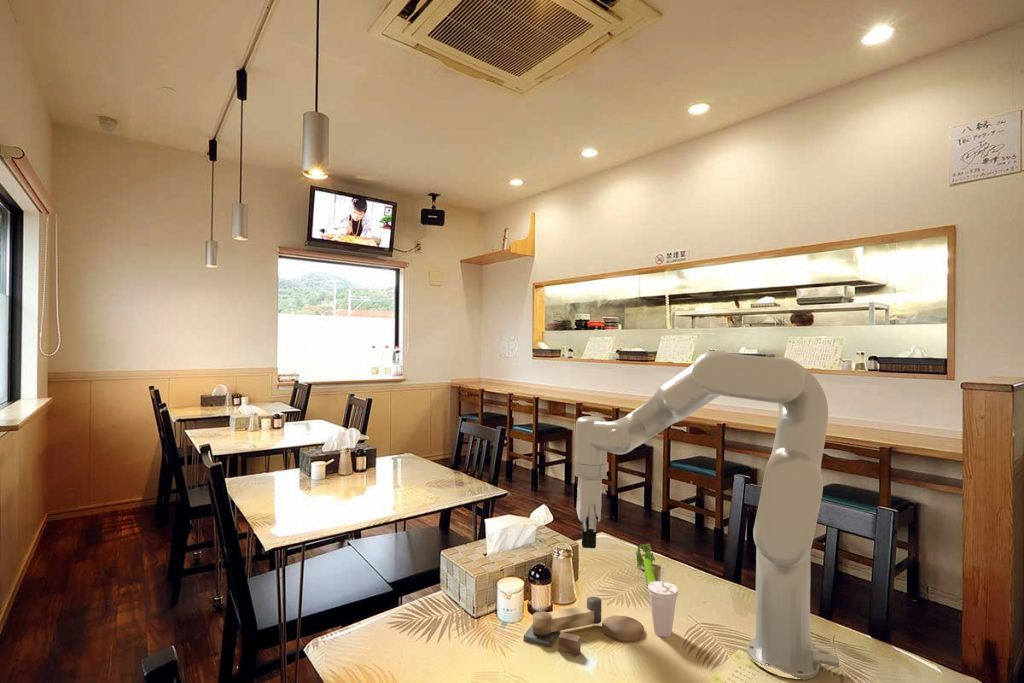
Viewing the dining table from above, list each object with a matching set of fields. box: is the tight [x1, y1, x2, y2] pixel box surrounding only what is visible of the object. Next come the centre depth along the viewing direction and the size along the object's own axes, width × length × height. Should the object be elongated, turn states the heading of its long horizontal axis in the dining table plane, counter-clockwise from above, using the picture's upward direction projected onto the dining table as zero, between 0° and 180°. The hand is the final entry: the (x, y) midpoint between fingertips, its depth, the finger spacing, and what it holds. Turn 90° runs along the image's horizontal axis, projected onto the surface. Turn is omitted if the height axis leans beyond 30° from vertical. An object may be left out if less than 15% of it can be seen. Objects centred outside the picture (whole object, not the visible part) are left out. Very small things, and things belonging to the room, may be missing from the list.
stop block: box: [557, 631, 582, 658], centre depth 104 cm, size 4×2×3 cm, turn 65°
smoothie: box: [647, 565, 679, 638], centre depth 111 cm, size 6×6×14 cm
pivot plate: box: [523, 623, 561, 648], centre depth 109 cm, size 6×6×1 cm
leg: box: [532, 596, 602, 636], centre depth 111 cm, size 16×4×4 cm, turn 110°
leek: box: [635, 543, 657, 587], centre depth 134 cm, size 6×7×30 cm
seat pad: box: [601, 615, 645, 643], centre depth 112 cm, size 9×9×1 cm
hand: (588, 546), depth 121 cm, fingers closed
